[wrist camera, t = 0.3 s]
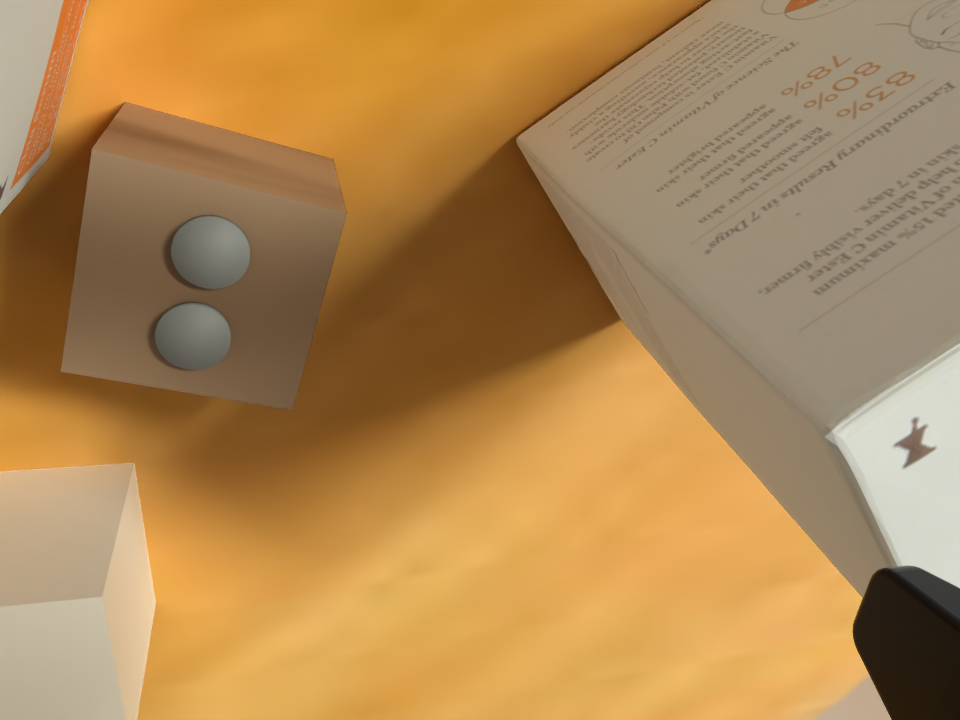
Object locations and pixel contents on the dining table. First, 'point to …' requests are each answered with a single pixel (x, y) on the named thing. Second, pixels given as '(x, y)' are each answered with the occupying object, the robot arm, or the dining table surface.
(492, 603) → the dining table surface
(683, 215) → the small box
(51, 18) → the skincare box
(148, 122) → the walnut block
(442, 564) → the dining table surface
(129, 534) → the cream block
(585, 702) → the dining table surface
